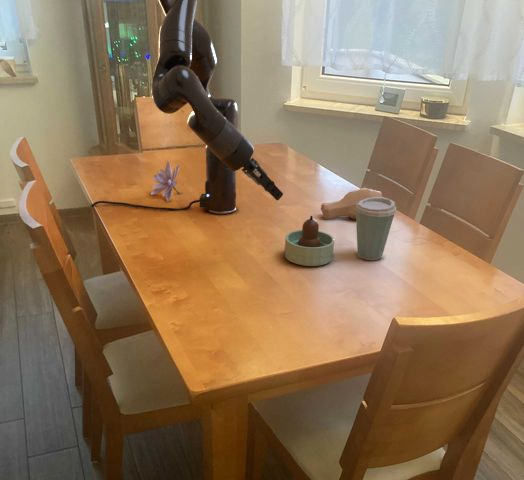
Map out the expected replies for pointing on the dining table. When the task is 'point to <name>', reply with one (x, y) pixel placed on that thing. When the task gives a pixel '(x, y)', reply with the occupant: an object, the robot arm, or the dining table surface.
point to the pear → (310, 234)
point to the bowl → (309, 249)
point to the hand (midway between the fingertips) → (274, 191)
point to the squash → (348, 203)
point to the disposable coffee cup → (373, 226)
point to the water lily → (165, 181)
